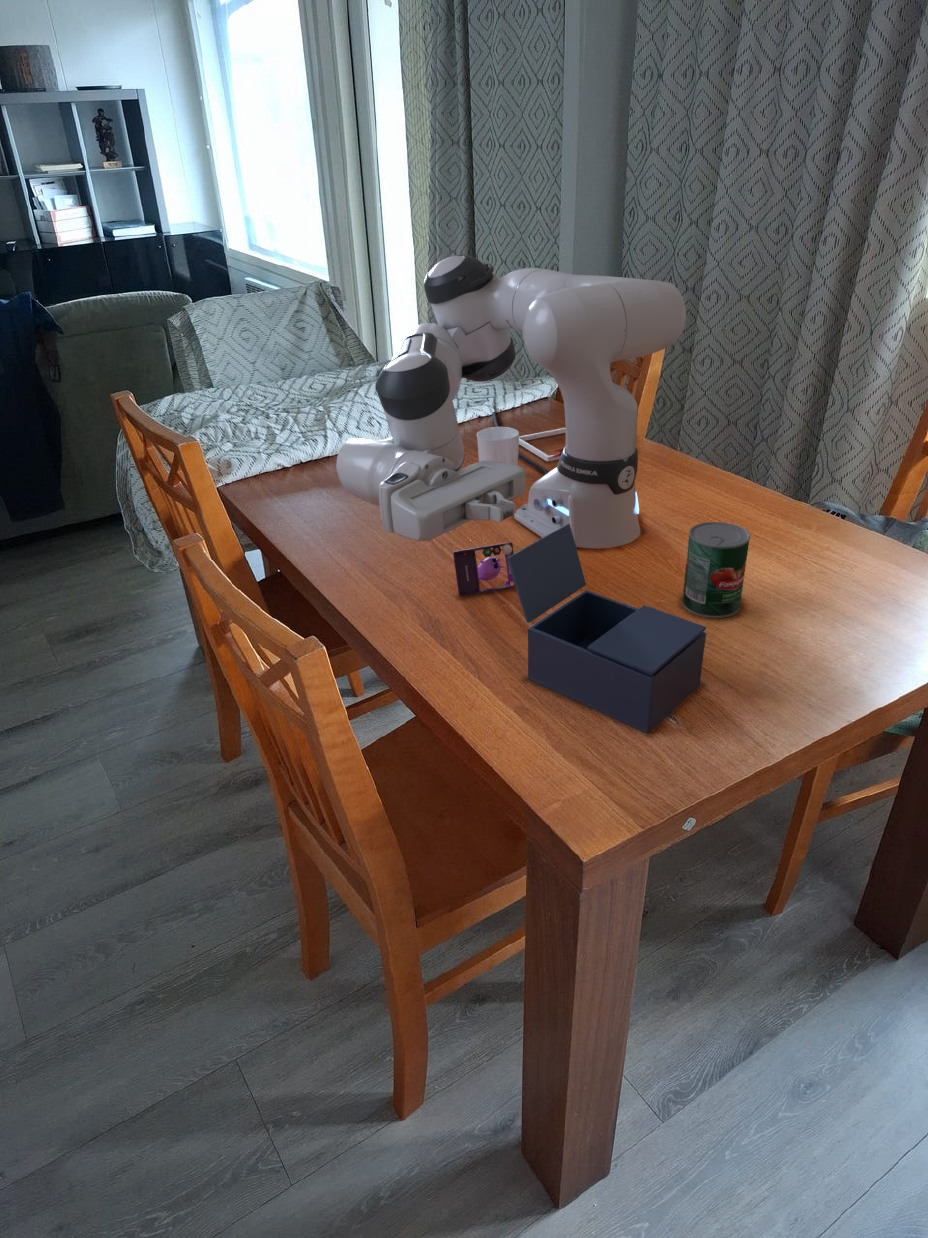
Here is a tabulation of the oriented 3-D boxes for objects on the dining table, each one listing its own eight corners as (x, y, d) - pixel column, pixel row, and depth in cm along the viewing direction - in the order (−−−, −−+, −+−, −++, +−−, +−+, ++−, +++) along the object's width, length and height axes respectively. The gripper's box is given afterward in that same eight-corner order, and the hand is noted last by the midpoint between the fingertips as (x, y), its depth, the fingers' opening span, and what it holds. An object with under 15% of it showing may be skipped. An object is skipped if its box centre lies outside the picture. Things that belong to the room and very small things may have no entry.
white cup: (526, 480, 160) (526, 429, 155) (506, 494, 154) (505, 442, 149) (492, 473, 164) (490, 424, 159) (470, 487, 158) (468, 436, 153)
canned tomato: (691, 586, 121) (699, 517, 115) (746, 598, 117) (756, 527, 112) (674, 611, 115) (681, 539, 109) (731, 624, 111) (741, 550, 106)
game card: (454, 552, 119) (513, 542, 121) (446, 549, 124) (503, 539, 126) (460, 597, 120) (519, 587, 122) (452, 592, 125) (509, 583, 127)
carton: (527, 679, 102) (527, 622, 98) (584, 638, 110) (585, 584, 106) (647, 734, 92) (652, 672, 88) (700, 685, 100) (707, 626, 96)
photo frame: (622, 440, 173) (547, 456, 167) (622, 446, 174) (547, 461, 168) (586, 422, 185) (514, 436, 179) (586, 427, 185) (514, 441, 179)
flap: (528, 623, 98) (526, 623, 98) (586, 585, 106) (584, 585, 106) (509, 557, 96) (506, 557, 96) (569, 523, 103) (567, 523, 104)
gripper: (480, 486, 118) (558, 509, 109) (374, 535, 105) (453, 565, 97) (478, 443, 114) (559, 463, 106) (369, 488, 102) (450, 515, 93)
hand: (508, 512), depth 101 cm, fingers closed
